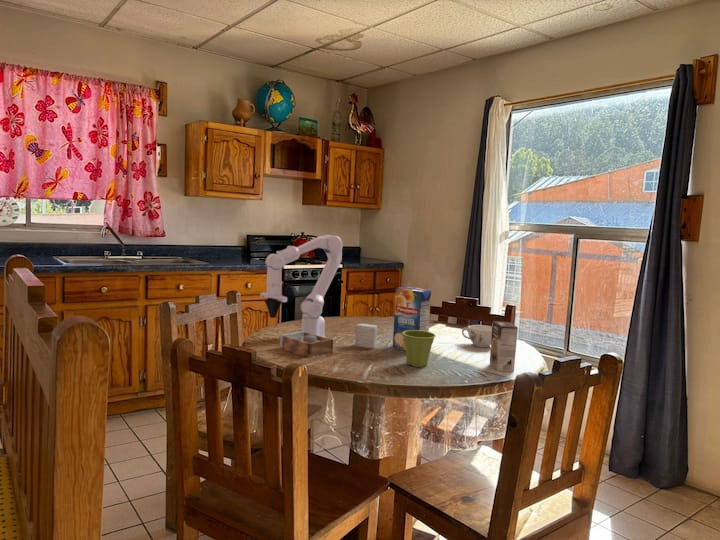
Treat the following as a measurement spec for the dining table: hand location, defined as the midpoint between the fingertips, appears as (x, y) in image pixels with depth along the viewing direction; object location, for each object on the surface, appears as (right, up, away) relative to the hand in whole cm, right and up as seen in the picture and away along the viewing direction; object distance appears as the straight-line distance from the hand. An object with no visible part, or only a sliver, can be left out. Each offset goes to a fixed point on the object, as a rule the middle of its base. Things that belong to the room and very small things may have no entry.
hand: (272, 317), depth 221 cm
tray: (+14, -10, -12) cm, 21 cm away
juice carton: (+55, -12, -1) cm, 56 cm away
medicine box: (+37, -12, -2) cm, 39 cm away
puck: (+16, -10, -14) cm, 23 cm away
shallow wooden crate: (+14, -11, -12) cm, 22 cm away
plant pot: (+56, -15, -25) cm, 63 cm away
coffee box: (+86, -16, -24) cm, 91 cm away
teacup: (+85, -13, +9) cm, 86 cm away
